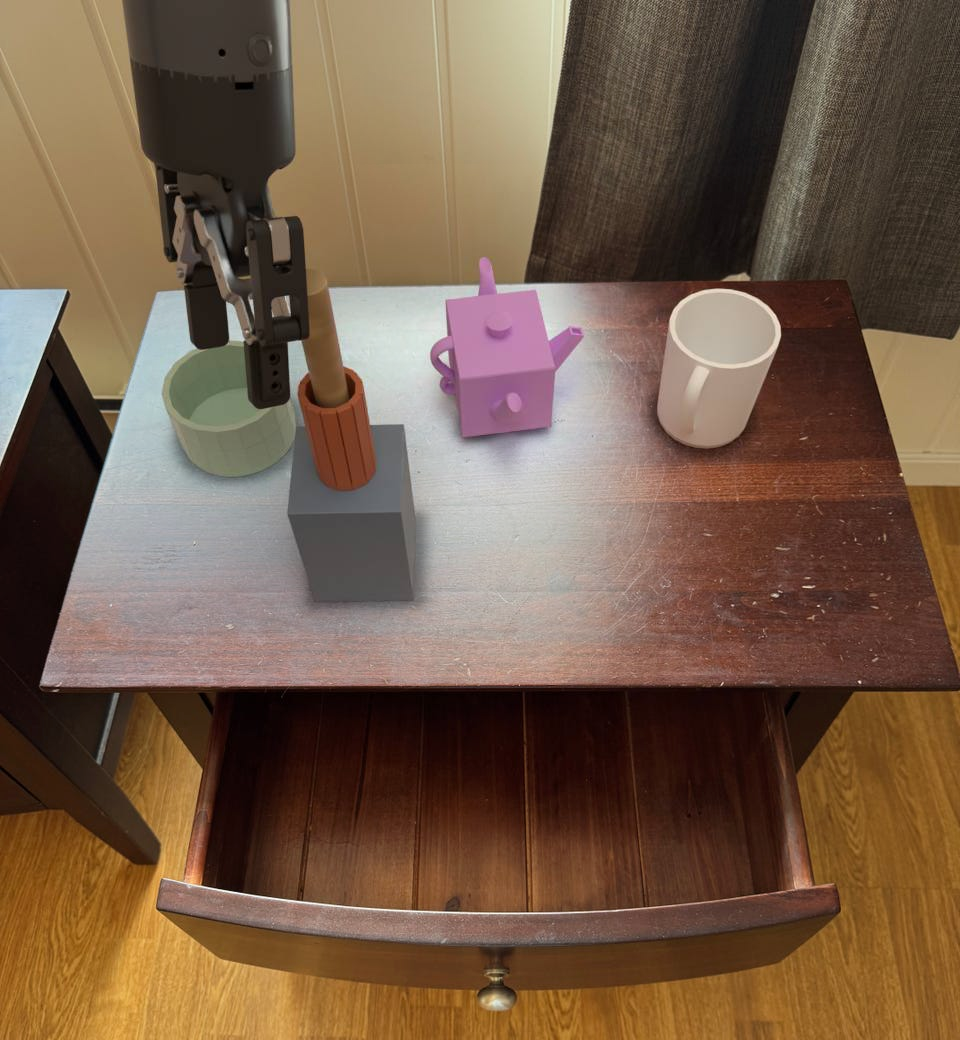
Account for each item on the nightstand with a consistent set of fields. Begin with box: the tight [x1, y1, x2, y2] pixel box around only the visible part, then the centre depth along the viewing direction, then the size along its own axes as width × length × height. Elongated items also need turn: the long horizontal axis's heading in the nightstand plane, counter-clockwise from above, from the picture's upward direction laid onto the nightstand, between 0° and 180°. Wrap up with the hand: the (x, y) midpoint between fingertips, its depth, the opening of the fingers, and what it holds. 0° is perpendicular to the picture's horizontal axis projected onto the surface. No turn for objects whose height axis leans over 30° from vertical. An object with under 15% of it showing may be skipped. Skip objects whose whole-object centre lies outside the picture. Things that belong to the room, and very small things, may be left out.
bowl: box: [161, 339, 297, 478], centre depth 84 cm, size 10×10×6 cm
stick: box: [300, 268, 350, 408], centre depth 62 cm, size 2×2×16 cm
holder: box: [286, 365, 417, 603], centre depth 71 cm, size 8×8×20 cm
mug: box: [656, 288, 782, 450], centre depth 82 cm, size 11×9×10 cm
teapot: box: [429, 256, 585, 438], centre depth 84 cm, size 18×13×10 cm
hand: (238, 374), depth 56 cm, fingers open, 8 cm apart
